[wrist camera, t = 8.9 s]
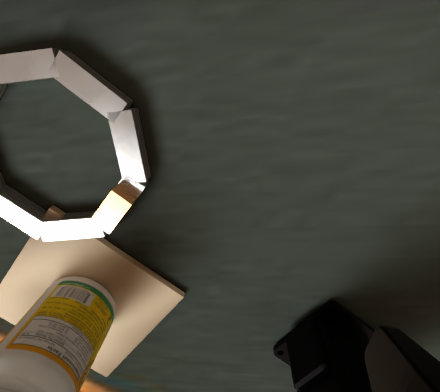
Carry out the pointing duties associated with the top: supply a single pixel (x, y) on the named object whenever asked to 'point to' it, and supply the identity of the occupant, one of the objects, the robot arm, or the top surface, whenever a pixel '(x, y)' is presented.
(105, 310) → the supplement bottle
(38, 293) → the coaster
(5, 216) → the grey octagonal ring
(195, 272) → the top surface
